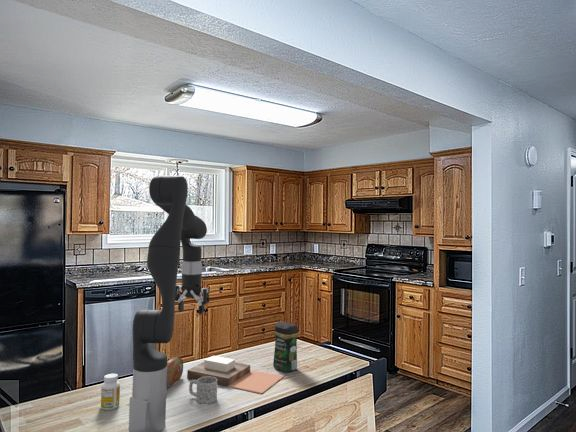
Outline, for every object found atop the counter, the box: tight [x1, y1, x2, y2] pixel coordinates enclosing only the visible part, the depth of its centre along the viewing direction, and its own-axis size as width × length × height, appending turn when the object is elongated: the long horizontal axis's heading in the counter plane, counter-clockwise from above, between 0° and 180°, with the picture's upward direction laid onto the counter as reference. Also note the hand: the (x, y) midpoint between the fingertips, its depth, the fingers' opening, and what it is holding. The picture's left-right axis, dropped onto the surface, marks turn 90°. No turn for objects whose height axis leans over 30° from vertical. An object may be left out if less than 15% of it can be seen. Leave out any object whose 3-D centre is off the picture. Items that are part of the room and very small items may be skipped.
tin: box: [166, 356, 184, 389], centre depth 155 cm, size 15×3×8 cm, turn 168°
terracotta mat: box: [227, 370, 285, 395], centre depth 158 cm, size 18×14×1 cm
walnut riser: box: [186, 361, 251, 388], centre depth 164 cm, size 16×18×3 cm
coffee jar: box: [272, 320, 299, 373], centre depth 174 cm, size 10×8×19 cm
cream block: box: [203, 355, 236, 372], centre depth 164 cm, size 6×10×3 cm, turn 66°
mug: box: [188, 376, 218, 405], centre depth 142 cm, size 10×7×7 cm, turn 70°
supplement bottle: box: [100, 373, 121, 411], centre depth 134 cm, size 5×5×10 cm
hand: (191, 312), depth 167 cm, fingers open, 8 cm apart
